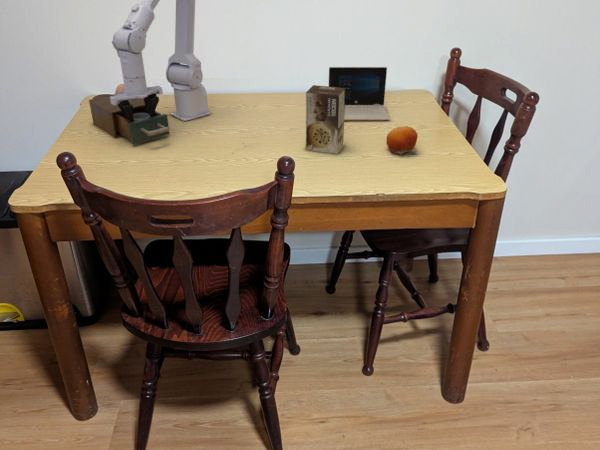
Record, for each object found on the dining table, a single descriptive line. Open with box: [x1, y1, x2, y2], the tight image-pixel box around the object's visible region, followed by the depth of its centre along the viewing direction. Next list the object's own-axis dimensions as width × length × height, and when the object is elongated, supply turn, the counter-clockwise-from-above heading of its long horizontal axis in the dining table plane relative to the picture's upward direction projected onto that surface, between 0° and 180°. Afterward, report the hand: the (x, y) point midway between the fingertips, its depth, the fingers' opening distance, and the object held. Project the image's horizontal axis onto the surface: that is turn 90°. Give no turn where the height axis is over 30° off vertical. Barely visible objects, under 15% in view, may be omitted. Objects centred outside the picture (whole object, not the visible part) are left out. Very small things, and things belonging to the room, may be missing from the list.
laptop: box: [328, 66, 390, 122], centre depth 171 cm, size 18×12×13 cm
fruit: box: [386, 125, 418, 156], centre depth 148 cm, size 8×8×8 cm
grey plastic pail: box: [133, 113, 150, 122], centre depth 156 cm, size 5×5×4 cm
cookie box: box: [305, 84, 346, 155], centre depth 147 cm, size 9×6×16 cm
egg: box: [114, 83, 125, 94], centre depth 179 cm, size 5×5×7 cm
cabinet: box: [88, 93, 145, 139], centre depth 163 cm, size 14×12×7 cm
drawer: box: [114, 107, 170, 145], centre depth 155 cm, size 18×11×6 cm, turn 42°
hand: (141, 124), depth 156 cm, fingers closed on grey plastic pail, 5 cm apart
